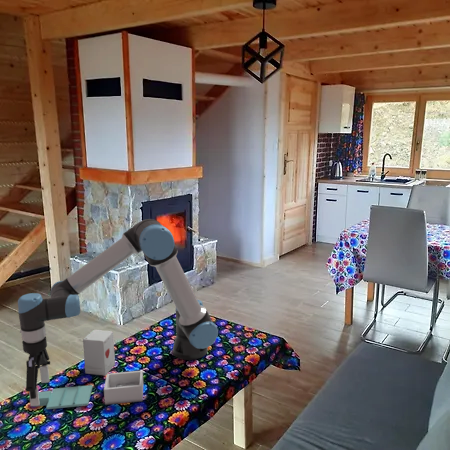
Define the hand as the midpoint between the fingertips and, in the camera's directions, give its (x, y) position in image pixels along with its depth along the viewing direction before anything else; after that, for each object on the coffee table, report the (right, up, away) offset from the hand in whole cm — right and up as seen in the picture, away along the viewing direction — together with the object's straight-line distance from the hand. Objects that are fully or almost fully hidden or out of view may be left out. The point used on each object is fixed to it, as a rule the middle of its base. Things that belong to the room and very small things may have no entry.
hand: (40, 393), depth 150 cm
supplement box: (+15, +1, +22) cm, 26 cm away
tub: (+29, -2, +5) cm, 29 cm away
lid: (+7, -3, +2) cm, 8 cm away
